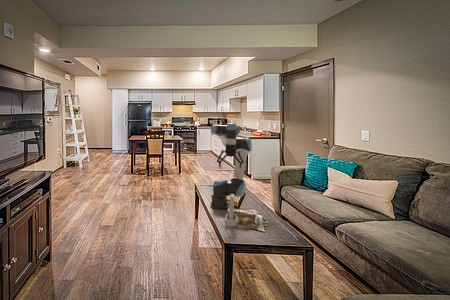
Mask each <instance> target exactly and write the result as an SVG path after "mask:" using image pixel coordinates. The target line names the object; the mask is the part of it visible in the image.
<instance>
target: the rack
mask: <svg viewBox="0 0 450 300" xmlns="http://www.w3.org/2000/svg"><path fill="white" fill-rule="evenodd" d="M236 214H237V227H236V228H237V229H252V228H257V229H258V220H257V219H258V218H257V214H255V213H241V212H239V213H236ZM244 218H250V219H251V220H253V222H254V223H255V224H254V225H240V224H239V223H240V222H239V221H241V219H244Z"/></svg>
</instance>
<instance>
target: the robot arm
mask: <svg viewBox="0 0 450 300" xmlns="http://www.w3.org/2000/svg"><path fill="white" fill-rule="evenodd" d="M210 132H211V134H212V135H216V136H217V137H218V138H219V139H220V141H221V143H222V145H223V146H224V147H225V150H224V149H221V152H220V154H219V155H218V157H217V160H216V163H218V168H220V170H219V172H220V173H222V166H223V165H222V164H223V161H224V160H225V159H226V157H234V158H235V165H234V170H233V177H232V178H231V179H230V181H228V179H227V178H226V179H225V178H222V179H220V178H219V179H215V180H213V185H212V187H213V189H212V199H211V202H210V208H212V209H216V210H226V209H229V202H228V197H230V194H234V197H236V198H241V197H243V196H244V195H245V193H246V187H247V184H246V183H245V181H244V176H245V169H246V163H247V157H248V155H249V154H250V152H252V139H251V138H249V137H240V136H239V137H237V136H238V135H239V134H240V133H241V128H240V127H239V126H238V125H237V123H231V122H230V123H226V125H225V124H223V125H222V124H212V125H211V128H210ZM224 153H225V154H224ZM223 154H224V156H223Z"/></svg>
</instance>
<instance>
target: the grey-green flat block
mask: <svg viewBox="0 0 450 300" xmlns="http://www.w3.org/2000/svg"><path fill="white" fill-rule="evenodd" d="M228 205H229V206H228V211H229V213H228V214H229V219H232V220H233V214H235V213H234V210H235V209H234V208H235V207H234V206H235V196H234V194H230V196H229V203H228Z"/></svg>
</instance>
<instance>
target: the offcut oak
mask: <svg viewBox="0 0 450 300" xmlns="http://www.w3.org/2000/svg"><path fill="white" fill-rule="evenodd" d="M241 221H242V222H249V221H251V219H250V218H244V219H241Z"/></svg>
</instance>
